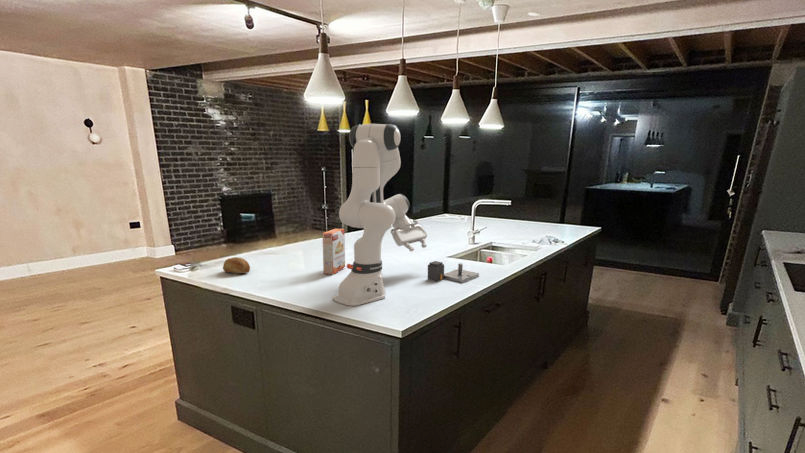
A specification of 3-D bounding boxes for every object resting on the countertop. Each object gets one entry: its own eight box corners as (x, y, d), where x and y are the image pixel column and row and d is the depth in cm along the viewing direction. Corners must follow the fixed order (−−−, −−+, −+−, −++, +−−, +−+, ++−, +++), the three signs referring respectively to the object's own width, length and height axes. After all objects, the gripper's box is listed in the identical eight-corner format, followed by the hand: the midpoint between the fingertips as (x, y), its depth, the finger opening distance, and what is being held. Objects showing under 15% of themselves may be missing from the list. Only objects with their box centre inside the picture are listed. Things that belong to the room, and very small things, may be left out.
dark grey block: (438, 281, 183) (438, 265, 181) (427, 279, 187) (427, 262, 185) (445, 279, 187) (445, 262, 185) (434, 276, 191) (434, 260, 189)
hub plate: (462, 283, 180) (462, 269, 179) (441, 277, 188) (441, 264, 187) (478, 276, 191) (479, 263, 189) (458, 271, 199) (458, 259, 197)
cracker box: (334, 275, 194) (332, 233, 190) (323, 274, 196) (321, 232, 192) (346, 267, 207) (345, 228, 204) (335, 266, 209) (334, 228, 205)
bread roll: (241, 277, 192) (239, 261, 191) (217, 274, 198) (216, 258, 196) (255, 272, 201) (254, 256, 200) (232, 269, 206) (231, 254, 205)
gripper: (392, 225, 187) (408, 248, 182) (420, 220, 202) (435, 241, 197) (385, 233, 191) (401, 256, 186) (413, 227, 206) (428, 248, 201)
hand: (418, 248), depth 192 cm, fingers open, 8 cm apart
